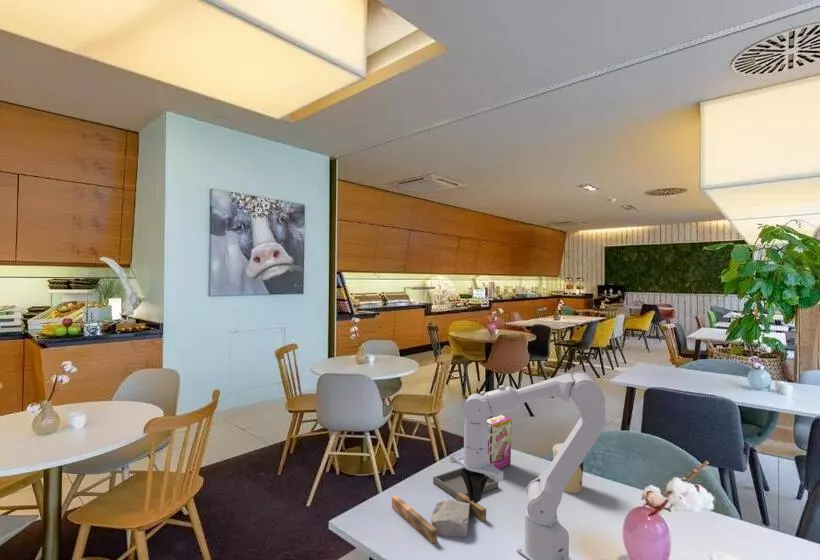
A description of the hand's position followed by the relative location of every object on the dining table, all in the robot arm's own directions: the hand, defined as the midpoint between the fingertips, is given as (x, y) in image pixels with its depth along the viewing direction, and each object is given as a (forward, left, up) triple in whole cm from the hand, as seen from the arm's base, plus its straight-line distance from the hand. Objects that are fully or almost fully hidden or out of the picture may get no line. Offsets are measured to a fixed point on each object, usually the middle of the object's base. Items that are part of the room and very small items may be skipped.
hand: (475, 500), depth 101 cm
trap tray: (+22, -17, -10) cm, 30 cm away
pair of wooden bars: (+15, 0, -10) cm, 18 cm away
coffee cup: (+4, -43, -11) cm, 45 cm away
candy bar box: (+26, -34, -11) cm, 44 cm away
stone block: (+10, 0, -11) cm, 15 cm away
